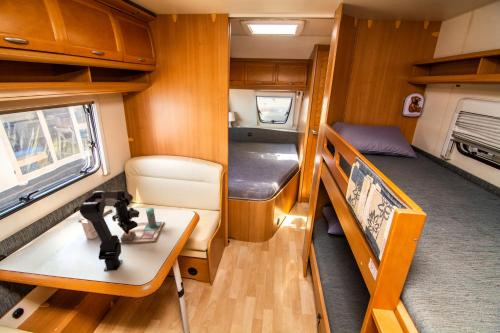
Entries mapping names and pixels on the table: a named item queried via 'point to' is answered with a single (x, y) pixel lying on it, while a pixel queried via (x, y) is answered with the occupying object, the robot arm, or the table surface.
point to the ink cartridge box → (89, 229)
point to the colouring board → (142, 234)
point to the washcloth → (106, 211)
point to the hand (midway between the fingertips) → (127, 233)
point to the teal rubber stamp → (151, 217)
